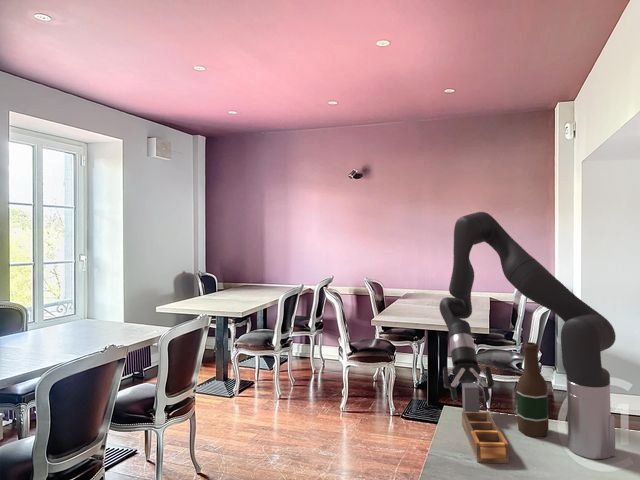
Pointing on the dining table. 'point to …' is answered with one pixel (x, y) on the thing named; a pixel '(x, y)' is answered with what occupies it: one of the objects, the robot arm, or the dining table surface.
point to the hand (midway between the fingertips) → (471, 401)
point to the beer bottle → (532, 396)
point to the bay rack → (485, 437)
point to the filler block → (470, 397)
